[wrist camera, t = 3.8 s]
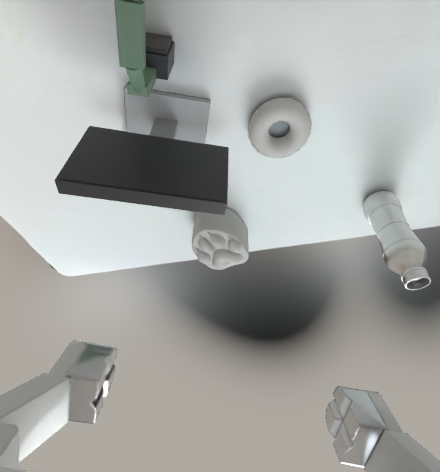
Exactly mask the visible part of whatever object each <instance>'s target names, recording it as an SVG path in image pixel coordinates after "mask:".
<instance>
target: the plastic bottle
mask: <svg viewBox="0 0 440 472" xmlns="http://www.w3.org/2000/svg"><path fill="white" fill-rule="evenodd" d="M363 211H364V215H365V217H366V219H367V220H368V221H369V223H370V224H371V225H372V227H373V229H374V230H375V232H376V234H377V236H378V239H379V242H380V244H381V248H382V253H383V257H384V261H385V263H386V265H387V266H388V267H389V268H390V269H391V270H393V271H394V272H396V273H398V274H400V275H401V280H402V281H403V283H404V285H405V287H406V288H407V289H409V290H418V289H422V288H424V287H426V286H428V285H429V284H430V282H431V280H430V277H429V275H428V272H427V270H426V269H425V268H424V266H425V264H426V260H427V250H426V248H425V247H424V245H423V244H422V243H421V241H420V240H419V239H418V238H417V236H416V235H415V234H414V233H413V231H412V230H411V228H410V227H409V225H408V223H407V222H406V219H405V217H404V214H403V212H402V207H401V204H400V201H399V199H398V198H397V197H396V196H395V195H394V194H393V193H391V192H387V191H379V192H375V193H373V194H371V195H370V196H369V197H368V198H367V199H366V201H365V203H364V205H363Z"/></svg>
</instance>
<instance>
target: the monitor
mask: <svg viewBox="0 0 440 472" xmlns="http://www.w3.org/2000/svg"><path fill="white" fill-rule="evenodd" d="M124 99H125V112H126V125H127V132H125V131H118V130H112V129H105V128H99V127H93V126H89V128H88V129H87V131H86V132H85V134H84V135H83V137H82V139H81V140H80V142H79V143H78V145H77V146H76V148H75V149H74V151H73V153H72V154H71V156H70V157H69V159H68V160H67V162H66V163H65V165H64V167H63V168H62V170H61V171H60V173H59V174H58V176H57V178H56V179H55V182H56V186H57V189H58V192H59V193H61V194H68V195H76V196H83V197H91V198H98V199H106V200H113V201H121V202H128V203H136V204H143V205H151V206H158V207H166V208H173V209H181V210H188V211H195V212H203V213H210V214H218V215H225V211H226V207H227V190H228V147H222V146H216V145H209V144H205V138H206V131H207V123H208V116H209V108H210V100H209V99H203V98H197V97H191V96H185V95H179V94H173V93H167V92H161V91H155V90H151V92H150V94H149V96H148V97H142V96H136V95H130V94H128V93H127V86H125V87H124Z"/></svg>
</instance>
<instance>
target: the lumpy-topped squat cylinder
mask: <svg viewBox="0 0 440 472" xmlns="http://www.w3.org/2000/svg"><path fill="white" fill-rule="evenodd" d="M192 248H193V251H194V253H195V254H196V256H197V257H198V260H199V261H200V262H202V263H205V264H206V265H207V266H209V267H210V268H212V269H217V270H221V269H225V268H227V267H229V266H232V265H236V264H241V263H244V262H246V261H247V259H248V256H249V253H248V230H247V227H246V225H245V224H244V222H243V220H242V219H241V218H240V216H239V215H238V214H237V213H236V212H235V211H233V210H231V209H229V208H227V207H226V211H225V215H218V214H210V213H203V212H197V213H196V215H195V221H194V229H193V237H192Z"/></svg>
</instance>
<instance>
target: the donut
mask: <svg viewBox="0 0 440 472" xmlns="http://www.w3.org/2000/svg"><path fill="white" fill-rule="evenodd" d="M278 121H285V122H287V123H288V124H289V126H290V130H289V132H288V133H287V134H286V135H285V136H283V137H280V138H275V137H273V136H271V135H270V134H269V128H270V127H271V125H272V124H274V123H275V122H278ZM310 132H311V119H310V114H309V112H308V111H307V110H306V108H305V107H304V105H302V104H301V103H299V102H298V101H296V100H294V99H290V98H286V97H285V98H275V99H272V100H270V101H267V102H265V103H264V104H263V105H261V106H260V107H259V108H257V110H256V111H255V113H254V114H253V115H252V117H251V120H250V123H249V127H248V134H249V139H250V141H251V144H252V146H253V147H254V148H255V149H256V150H257V152H259V153H261V154H262V155H264V156H266V157H271V158H284V157H287V156H290V155H292V154H294V153H295V152H297V151H298V150H300V149H301V147H302V146H303V145H304V144H305V143H306V142H307V139H308V137H309V135H310Z"/></svg>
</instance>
